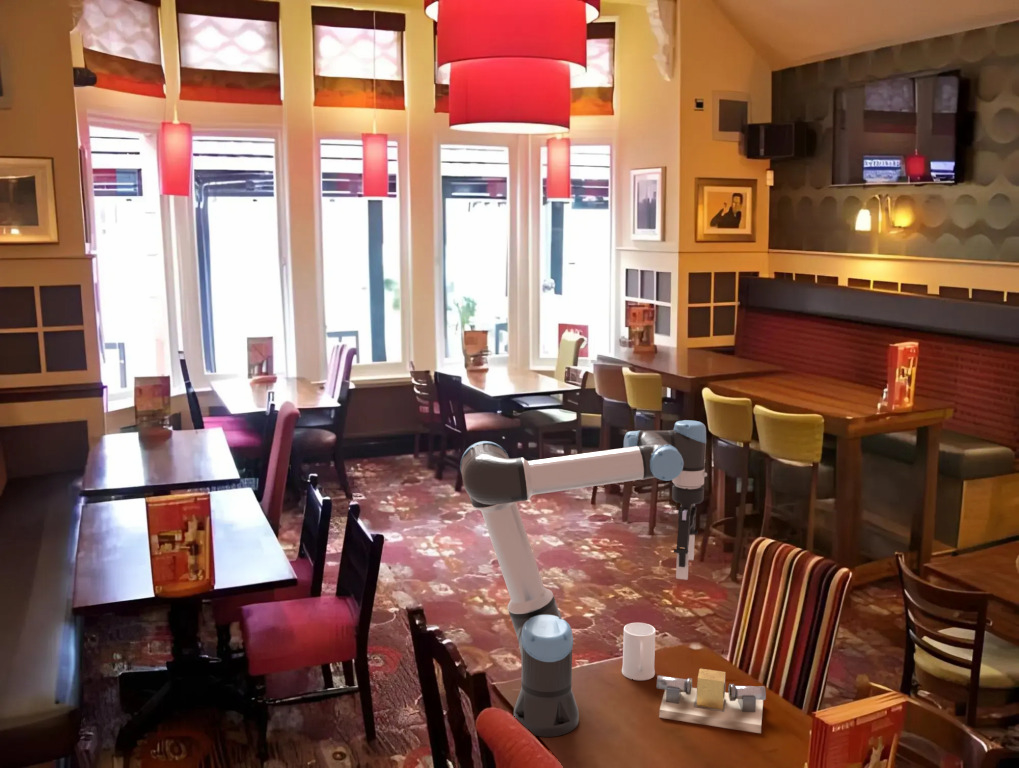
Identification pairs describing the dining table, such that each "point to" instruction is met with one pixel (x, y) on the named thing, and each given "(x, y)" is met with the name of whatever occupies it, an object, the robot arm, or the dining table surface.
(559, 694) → the robot arm
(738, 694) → the shaft right
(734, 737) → the dining table surface
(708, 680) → the wooden block with hole
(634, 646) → the mug
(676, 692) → the shaft left
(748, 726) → the bench
